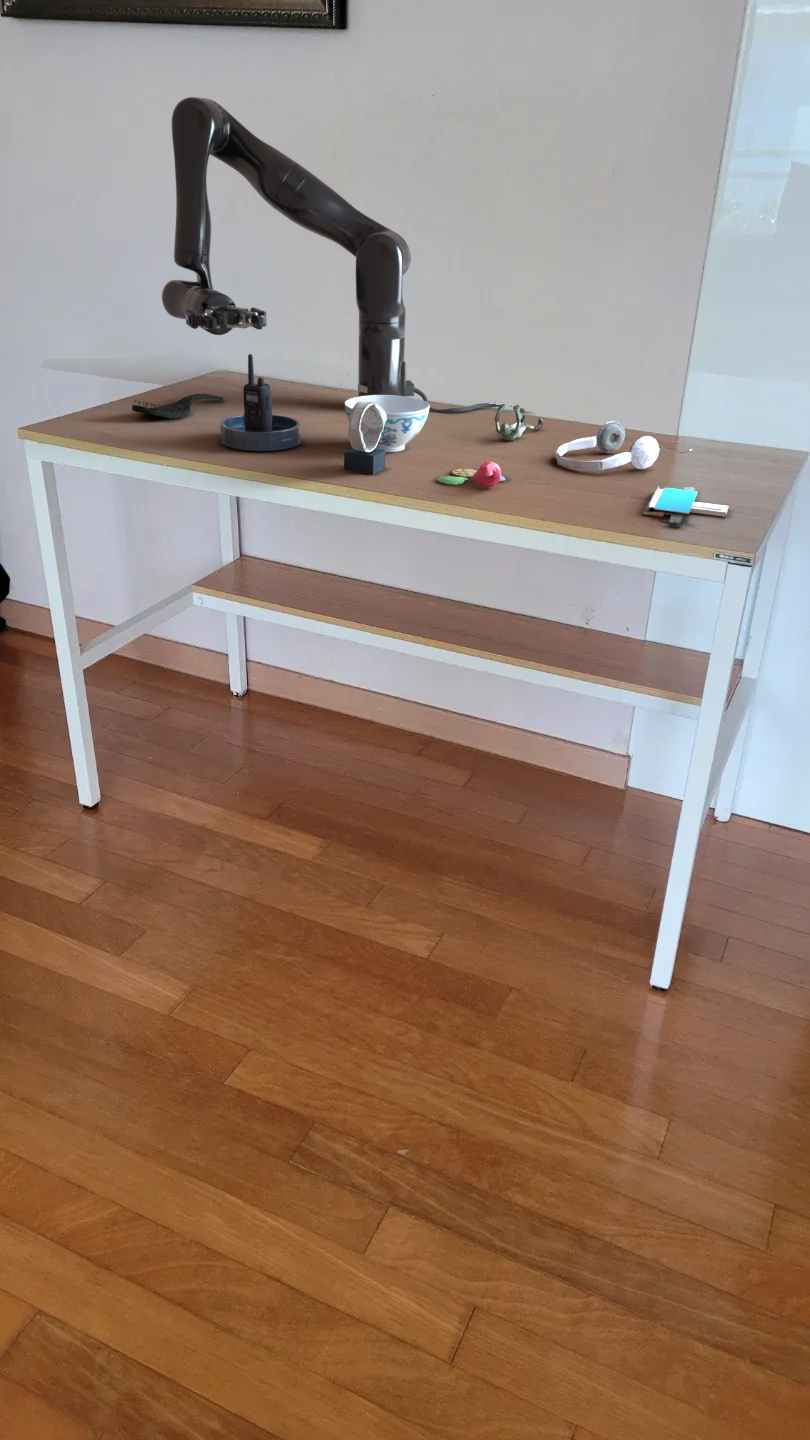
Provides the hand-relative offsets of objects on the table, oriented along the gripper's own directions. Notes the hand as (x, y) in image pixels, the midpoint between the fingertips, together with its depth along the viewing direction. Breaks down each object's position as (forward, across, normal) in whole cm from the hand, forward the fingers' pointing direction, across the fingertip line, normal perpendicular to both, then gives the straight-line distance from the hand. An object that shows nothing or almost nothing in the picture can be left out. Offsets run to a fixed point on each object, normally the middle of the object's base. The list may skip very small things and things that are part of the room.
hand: (237, 324), depth 193 cm
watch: (+34, +11, +19) cm, 40 cm away
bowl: (+11, 0, +19) cm, 22 cm away
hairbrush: (-18, -7, +19) cm, 27 cm away
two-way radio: (+11, 0, +18) cm, 22 cm away
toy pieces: (+46, +25, +18) cm, 55 cm away
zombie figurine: (+22, +47, +18) cm, 55 cm away
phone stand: (+71, +49, +18) cm, 88 cm away
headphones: (+45, +53, +18) cm, 72 cm away
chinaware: (+22, +20, +19) cm, 35 cm away
